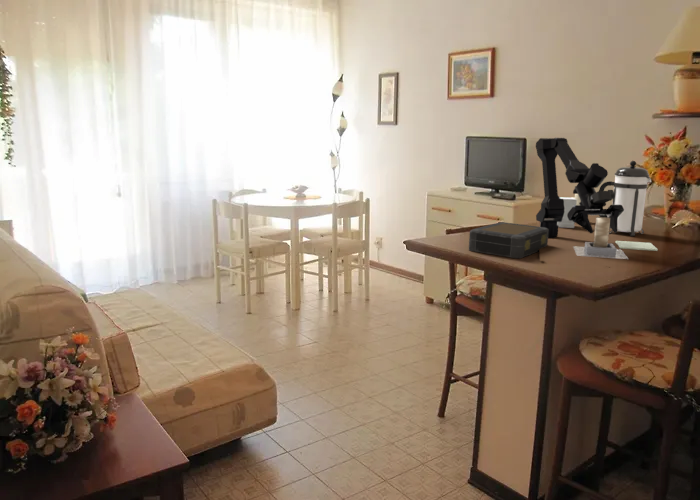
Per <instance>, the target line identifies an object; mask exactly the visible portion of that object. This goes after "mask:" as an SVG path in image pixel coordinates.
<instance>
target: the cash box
mask: <svg viewBox="0 0 700 500" xmlns="http://www.w3.org/2000/svg"><path fill="white" fill-rule="evenodd" d="M548 232H549V230H548V228H545V227H540V226H536V225H528V224H521V223H512V222H505V221H502V222H501V221H500V222H496V223H492V224H488V225H484V226H480V227H477V228H473V229H470V231H469V237H468V239H469V241H468V251H470V252H475V253H482V254H487V255H493V256H499V257H504V258H511V259H517V260H518V259H522V258H525V257H528V256H530V255H533V254H535V253H538V252H540V249H543V248H545V247H547V246H548V242H549V238H548Z"/></svg>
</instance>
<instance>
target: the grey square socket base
mask: <svg viewBox="0 0 700 500" xmlns="http://www.w3.org/2000/svg"><path fill="white" fill-rule="evenodd" d="M593 244H594V241H593V242H592V241H585V242H584V246H574V245H573V246H572V248H573V250H574V253H575V255H576V256H578V257H579V256H580V257H590V258H591V257H593V258H605V259H607V258H608V259H619V260H629V257H628V256H627V255H626V253H625V252H624V251H623V250H622V248H619V249H618V248H616V246H615V245H614V243H609V242H608V244H607V247H593Z"/></svg>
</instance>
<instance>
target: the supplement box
mask: <svg viewBox="0 0 700 500" xmlns="http://www.w3.org/2000/svg"><path fill="white" fill-rule="evenodd" d="M559 198H560V199H563V200H564V208H565V209H564V211H565V212H564V215H563V218H562V221H561V222H557V225H558V228H564V229H567V228H568V229H574V228H575V222H573V221H569V219H568V217H567V214H568V212H569V211H570V210H571V208H572V207H573V206H574V205H576V203H577V199H575V198H571V197H567V196H566V197H565V196H564V197H562V196H561V197H560V196H559Z"/></svg>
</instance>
